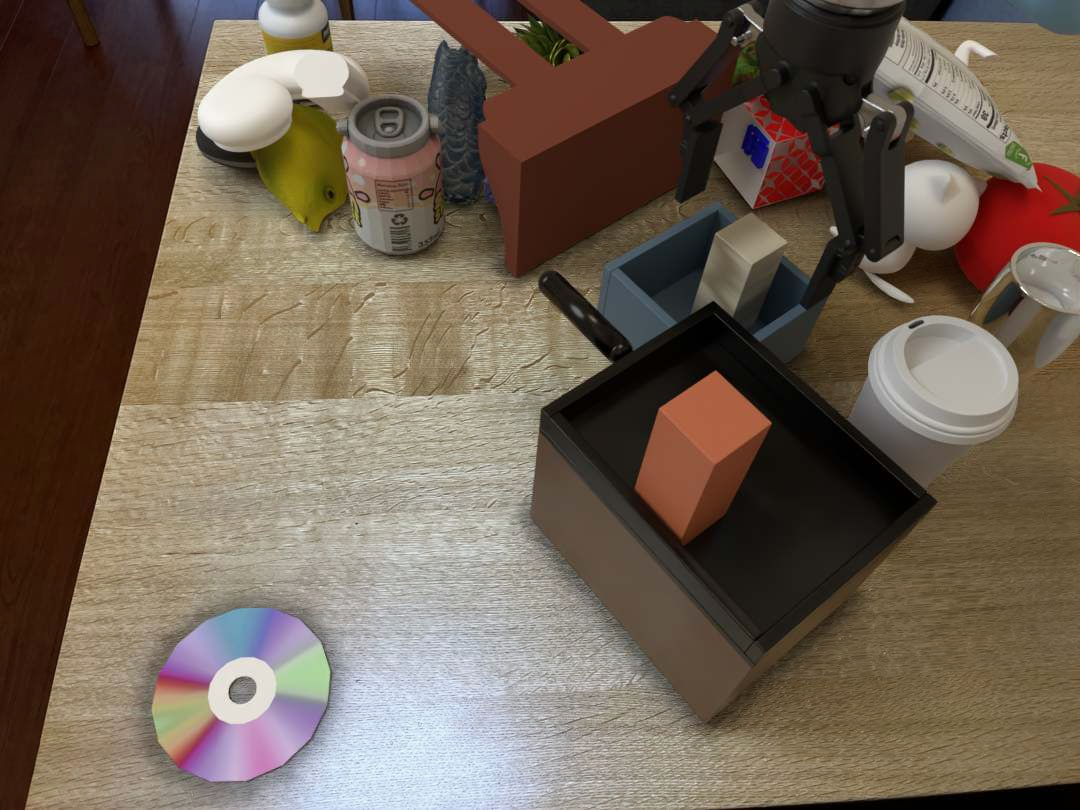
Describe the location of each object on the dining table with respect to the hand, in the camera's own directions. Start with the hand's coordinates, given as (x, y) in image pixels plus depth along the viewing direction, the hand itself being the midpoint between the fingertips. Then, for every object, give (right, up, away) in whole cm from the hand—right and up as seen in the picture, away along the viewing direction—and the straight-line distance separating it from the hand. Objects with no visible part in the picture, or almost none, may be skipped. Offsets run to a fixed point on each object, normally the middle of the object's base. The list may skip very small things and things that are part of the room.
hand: (749, 245), depth 68 cm
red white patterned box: (+6, +11, +19) cm, 23 cm away
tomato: (+26, 0, +13) cm, 29 cm away
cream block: (-1, -5, +8) cm, 9 cm away
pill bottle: (-40, +20, +23) cm, 50 cm away
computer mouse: (-43, +15, +14) cm, 48 cm away
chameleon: (+15, +21, +14) cm, 30 cm away
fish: (-42, +10, +10) cm, 44 cm away
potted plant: (-13, +15, +21) cm, 29 cm away
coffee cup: (+9, -18, +1) cm, 20 cm away
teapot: (+19, +14, +20) cm, 30 cm away
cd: (-35, -31, -11) cm, 48 cm away
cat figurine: (+13, 0, +13) cm, 18 cm away
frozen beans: (+4, +23, +6) cm, 24 cm away
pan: (-8, -20, -2) cm, 22 cm away
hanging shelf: (-9, +8, +9) cm, 15 cm away
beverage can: (-29, +4, +13) cm, 32 cm away
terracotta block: (-8, -18, -16) cm, 26 cm away
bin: (-3, -7, +7) cm, 10 cm away
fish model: (-24, +14, +20) cm, 35 cm away
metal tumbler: (+19, -12, +5) cm, 23 cm away
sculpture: (-38, +13, +9) cm, 41 cm away
